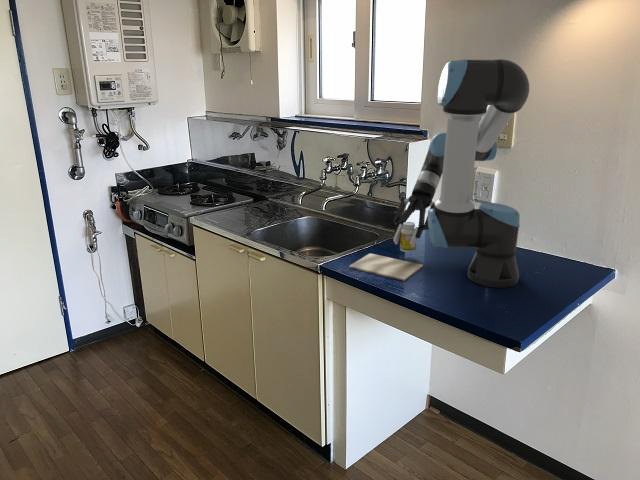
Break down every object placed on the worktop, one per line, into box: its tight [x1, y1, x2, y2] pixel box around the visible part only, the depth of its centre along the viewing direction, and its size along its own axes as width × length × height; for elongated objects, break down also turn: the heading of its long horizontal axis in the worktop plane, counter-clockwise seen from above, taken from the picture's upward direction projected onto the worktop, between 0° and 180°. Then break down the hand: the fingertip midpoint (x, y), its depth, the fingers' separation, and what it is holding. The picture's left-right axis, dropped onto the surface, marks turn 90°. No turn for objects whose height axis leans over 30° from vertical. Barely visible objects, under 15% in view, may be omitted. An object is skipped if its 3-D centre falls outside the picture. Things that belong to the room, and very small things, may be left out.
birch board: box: [348, 253, 424, 282], centre depth 171 cm, size 20×14×1 cm
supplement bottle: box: [399, 221, 417, 253], centre depth 177 cm, size 5×5×10 cm
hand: (403, 243), depth 174 cm, fingers closed on supplement bottle, 5 cm apart
